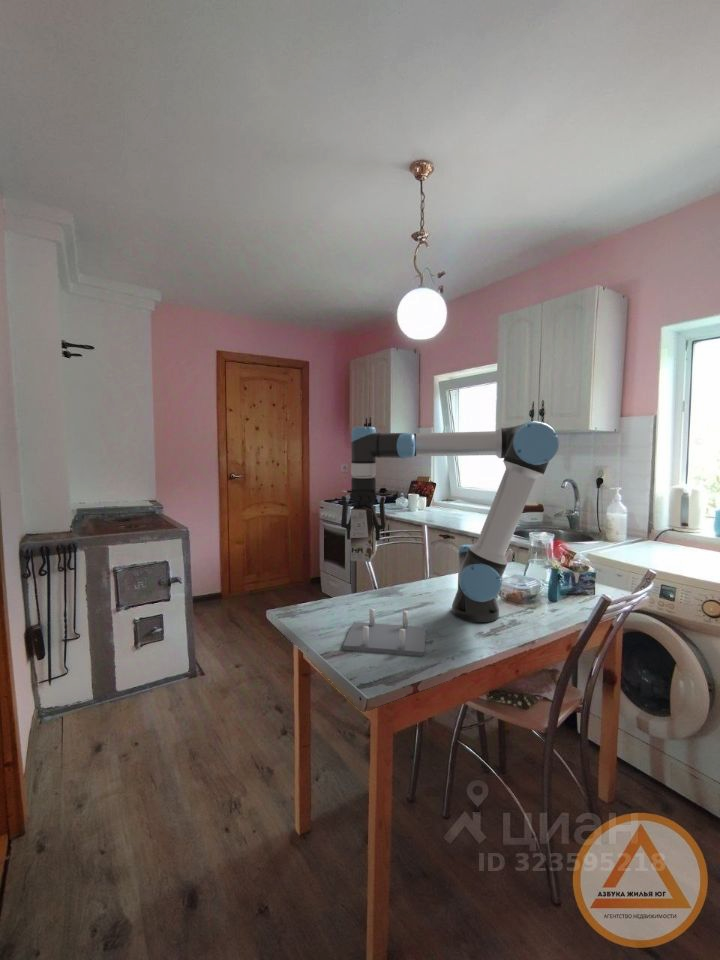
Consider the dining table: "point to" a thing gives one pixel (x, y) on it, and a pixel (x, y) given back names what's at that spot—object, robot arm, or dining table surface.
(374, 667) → the dining table surface
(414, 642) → the grey pegged base plate
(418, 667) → the dining table surface
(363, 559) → the coffee box
